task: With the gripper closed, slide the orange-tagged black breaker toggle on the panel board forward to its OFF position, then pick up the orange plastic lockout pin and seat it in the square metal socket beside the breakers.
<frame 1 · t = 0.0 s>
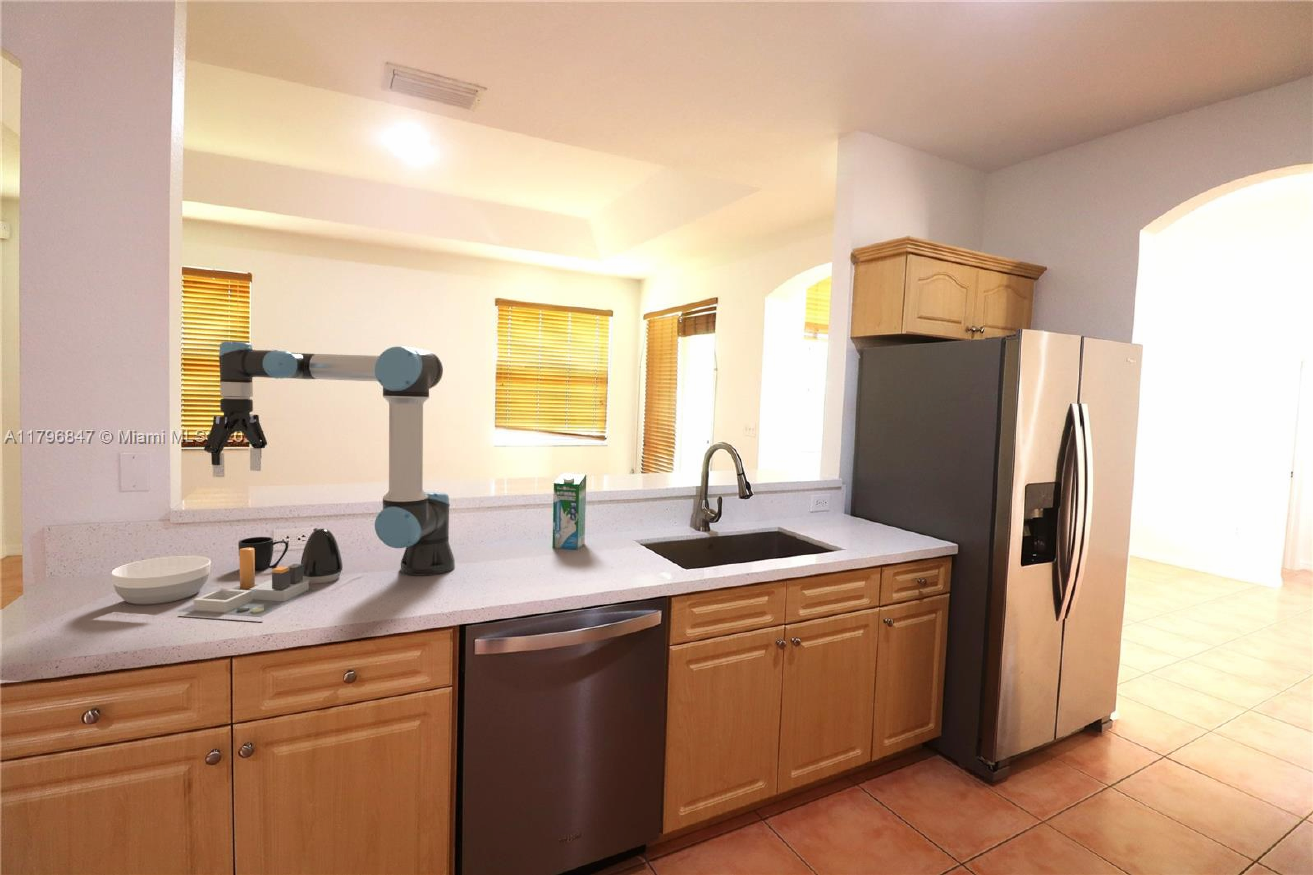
hand: (237, 473, 173), 28 cm above the worktop, fingers open, 13 cm apart
mug: (264, 573, 175), on the worktop
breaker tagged: (280, 577, 150), point 7 cm above the worktop, slide at 0.0 cm
lockout pin: (247, 587, 158), point 1 cm above the worktop, touching panel board
milk carton: (568, 546, 217), on the worktop
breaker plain: (294, 573, 155), point 6 cm above the worktop, slide at 0.0 cm
bowl: (163, 601, 150), on the worktop
panel board: (251, 605, 150), on the worktop
black domed piece: (321, 584, 167), on the worktop
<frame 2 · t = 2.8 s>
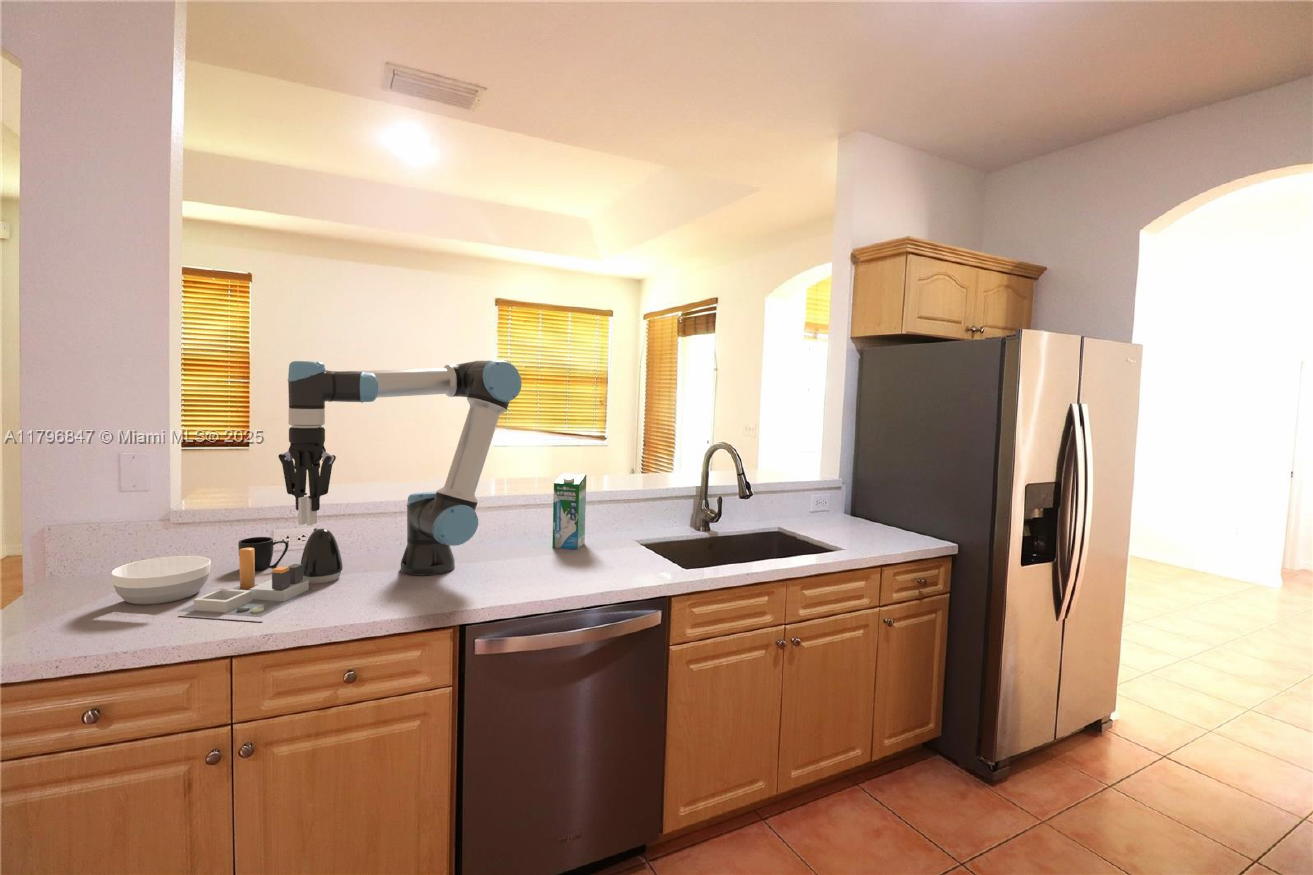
hand: (307, 523, 149), 20 cm above the worktop, fingers closed
nothing on the worktop moved.
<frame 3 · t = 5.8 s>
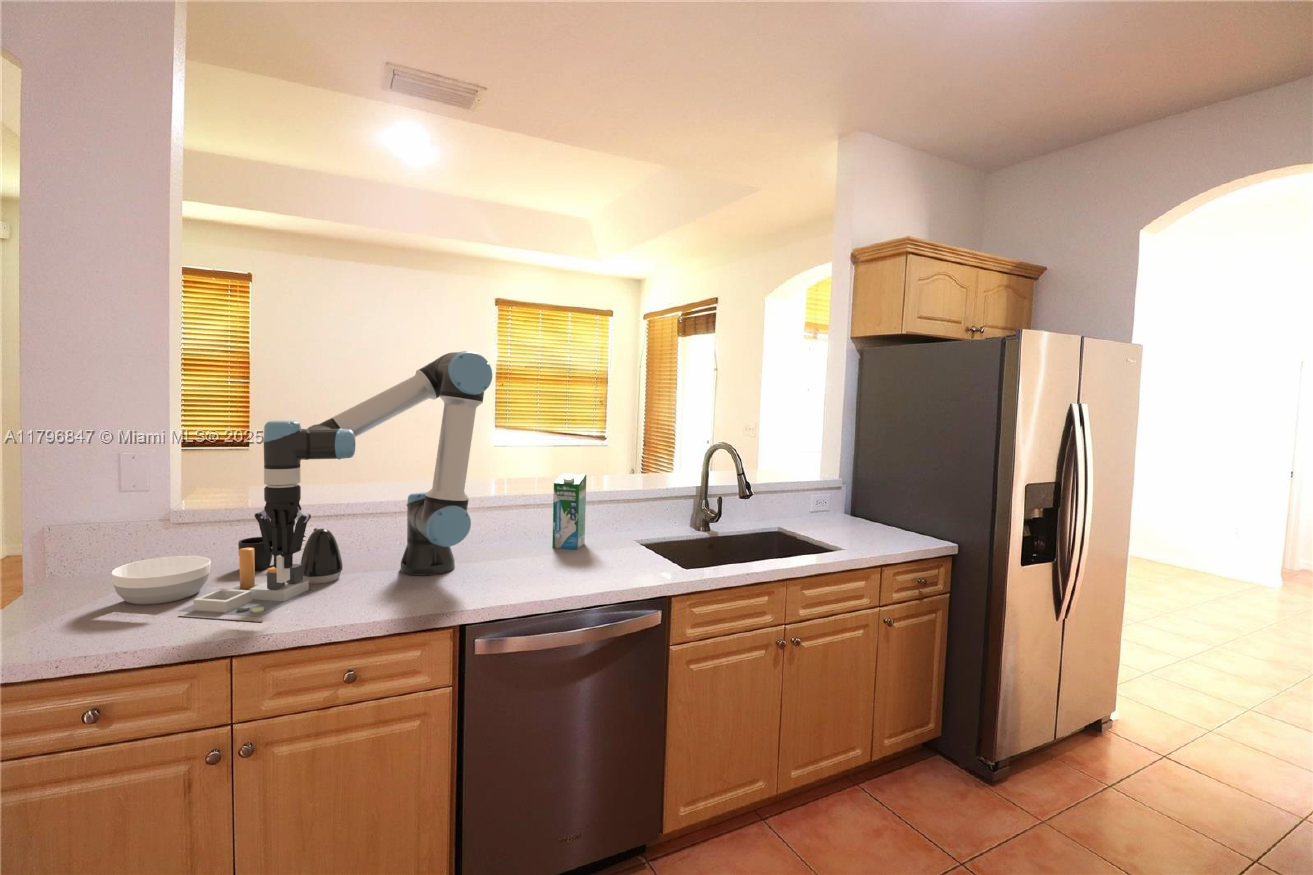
hand: (283, 580, 150), 6 cm above the worktop, fingers closed
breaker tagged: (276, 577, 150), point 7 cm above the worktop, slide at 1.3 cm, touching gripper
everything else where it was.
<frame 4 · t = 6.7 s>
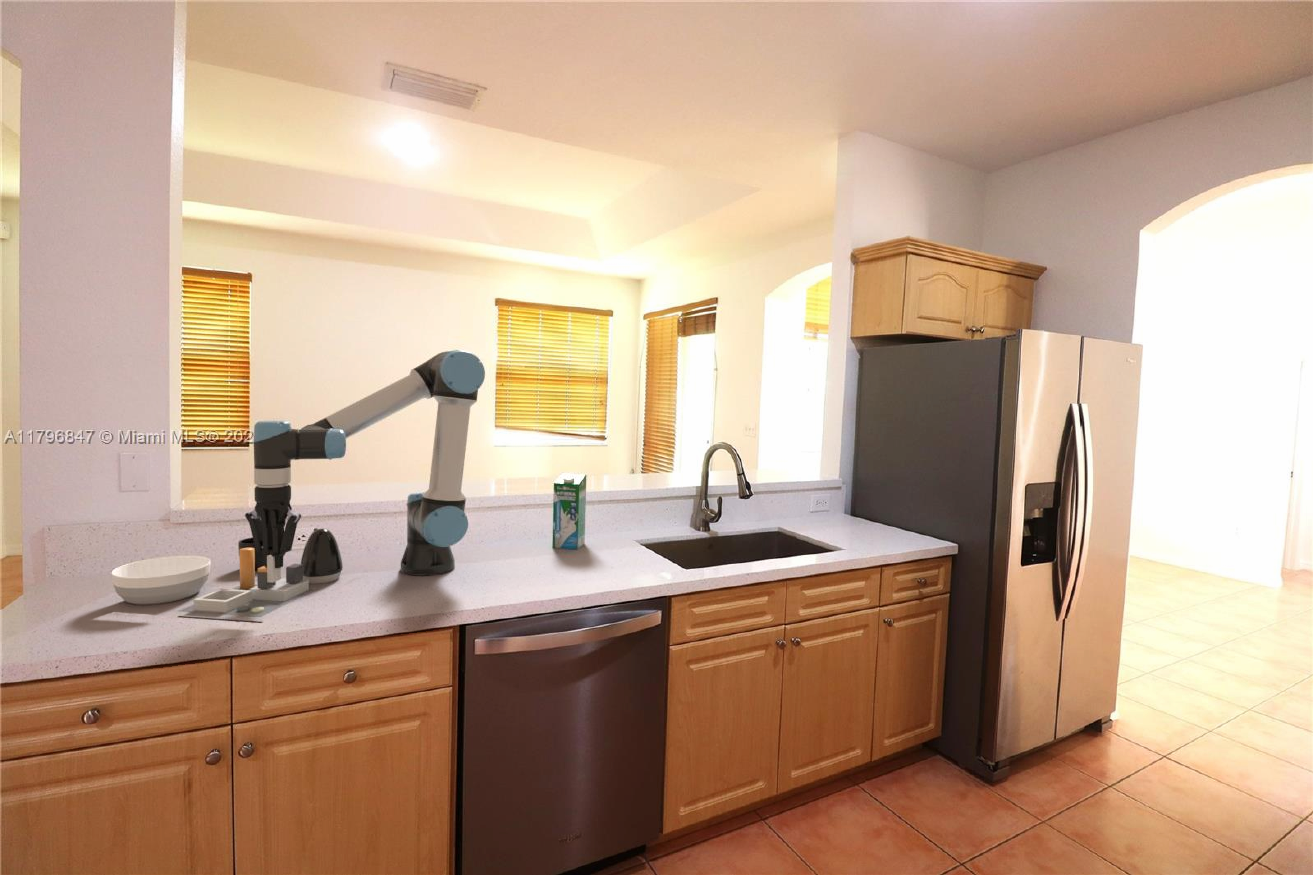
hand: (274, 580, 150), 6 cm above the worktop, fingers closed
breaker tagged: (266, 577, 150), point 7 cm above the worktop, slide at 3.7 cm, touching gripper
everything else where it was.
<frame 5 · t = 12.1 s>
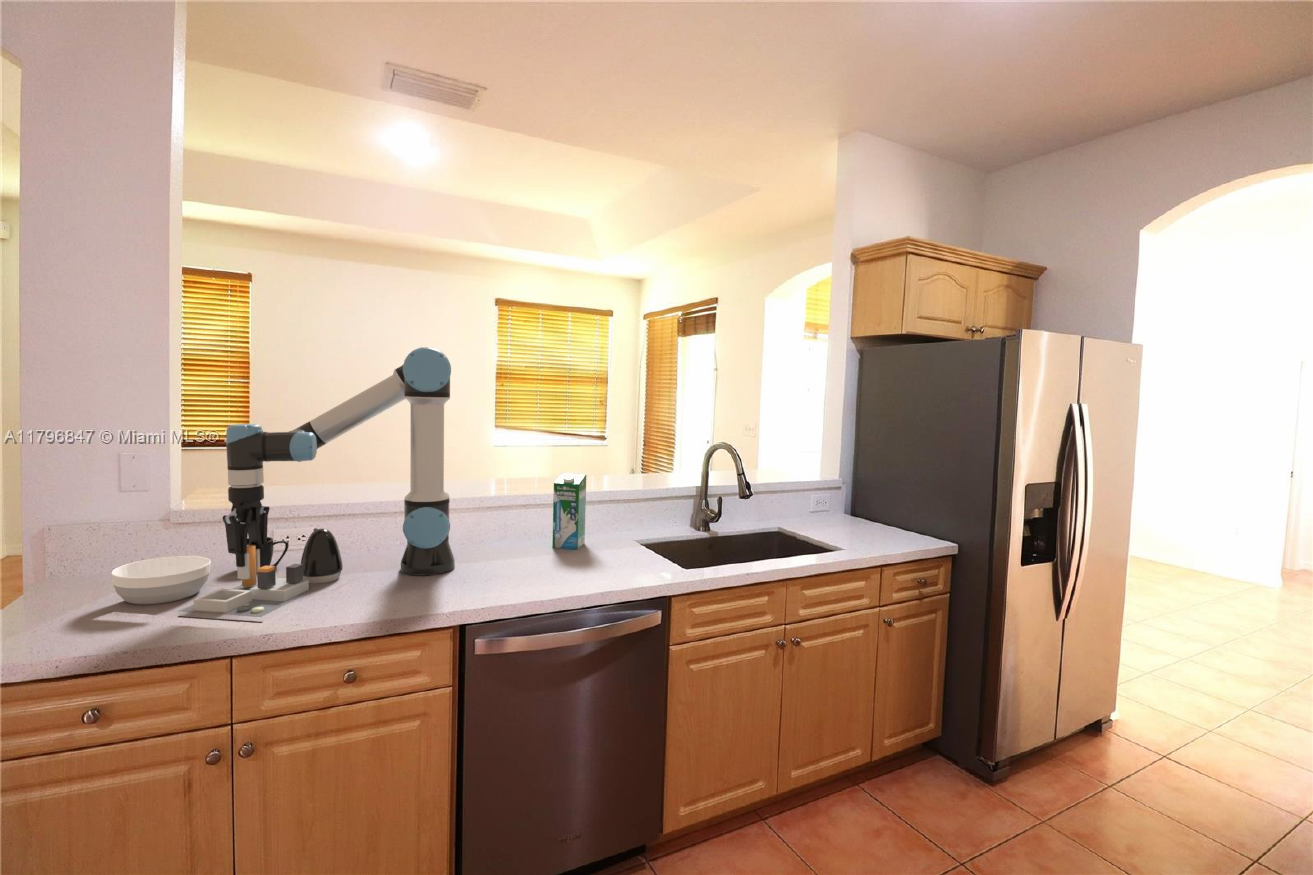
hand: (249, 576, 157), 4 cm above the worktop, fingers closed on lockout pin, 3 cm apart
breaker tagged: (266, 577, 150), point 7 cm above the worktop, slide at 3.7 cm
lockout pin: (249, 584, 158), point 2 cm above the worktop, touching gripper
everything else where it was.
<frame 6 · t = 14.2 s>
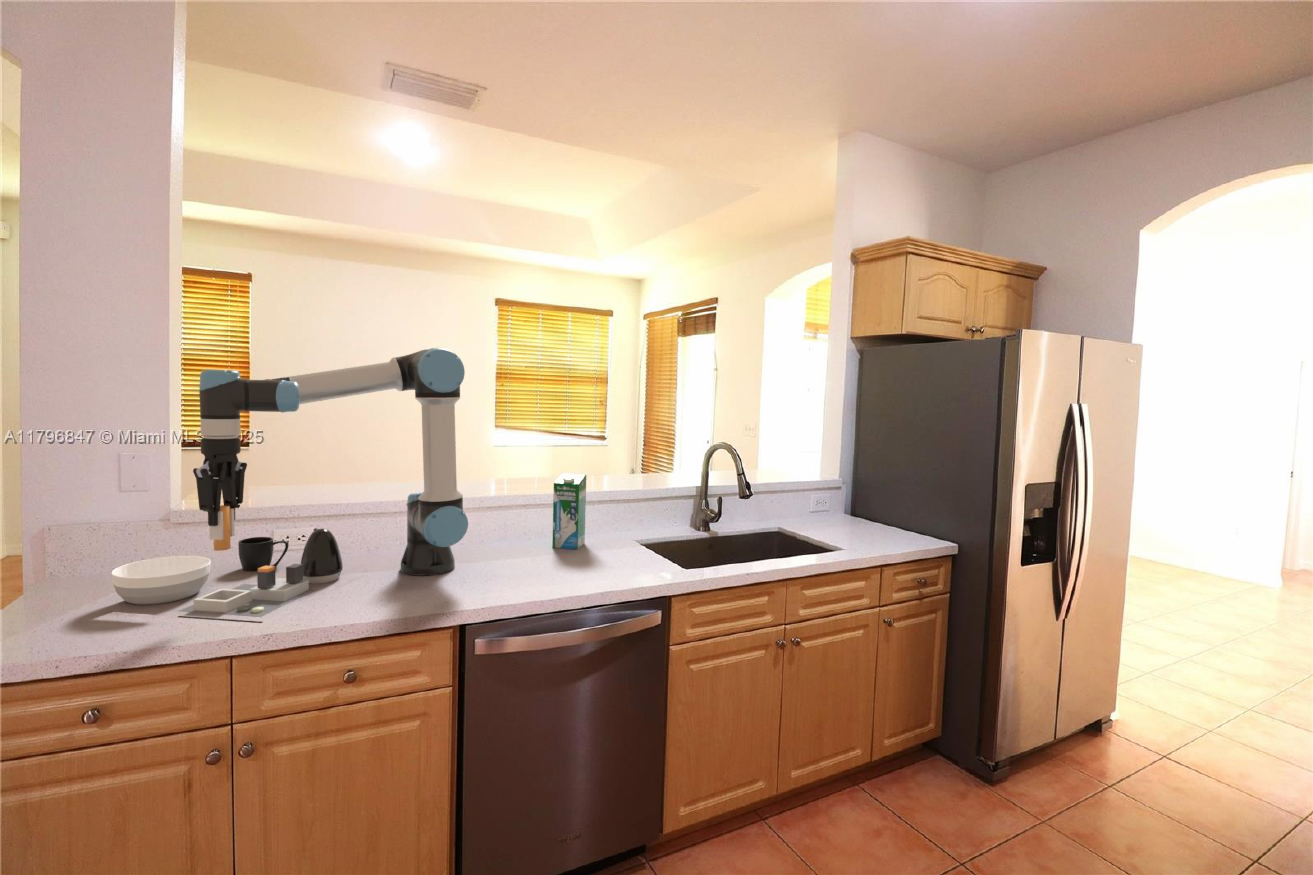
hand: (222, 537, 144), 18 cm above the worktop, fingers closed on lockout pin, 3 cm apart
lockout pin: (222, 548, 144), point 15 cm above the worktop, touching gripper
everything else where it was.
when the fingers open (5 cm above the worktop, at t = 16.6 s): lockout pin stays where it is, resting on panel board.
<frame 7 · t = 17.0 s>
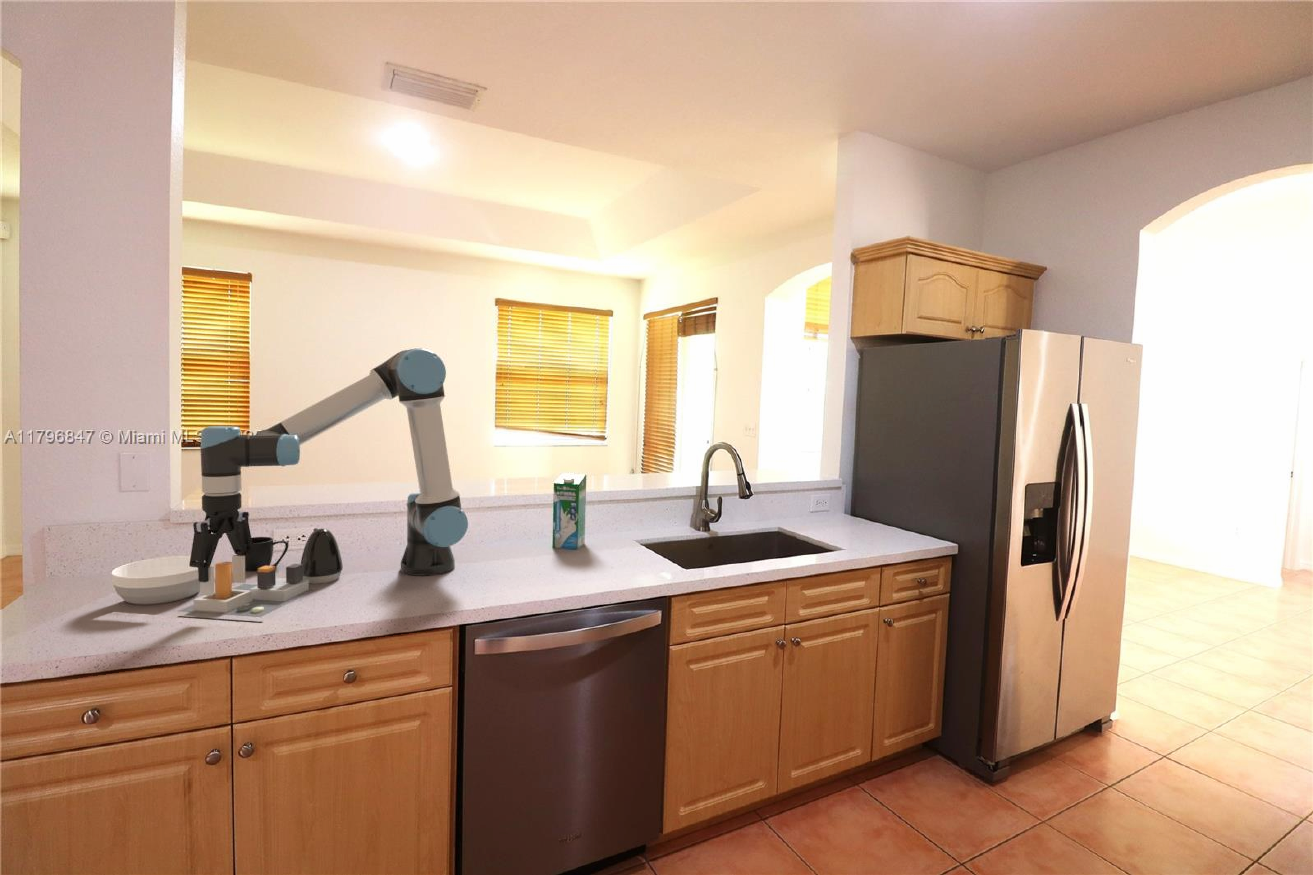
hand: (223, 588, 145), 6 cm above the worktop, fingers open, 9 cm apart
lockout pin: (223, 605, 145), point 2 cm above the worktop, touching panel board
everything else where it was.
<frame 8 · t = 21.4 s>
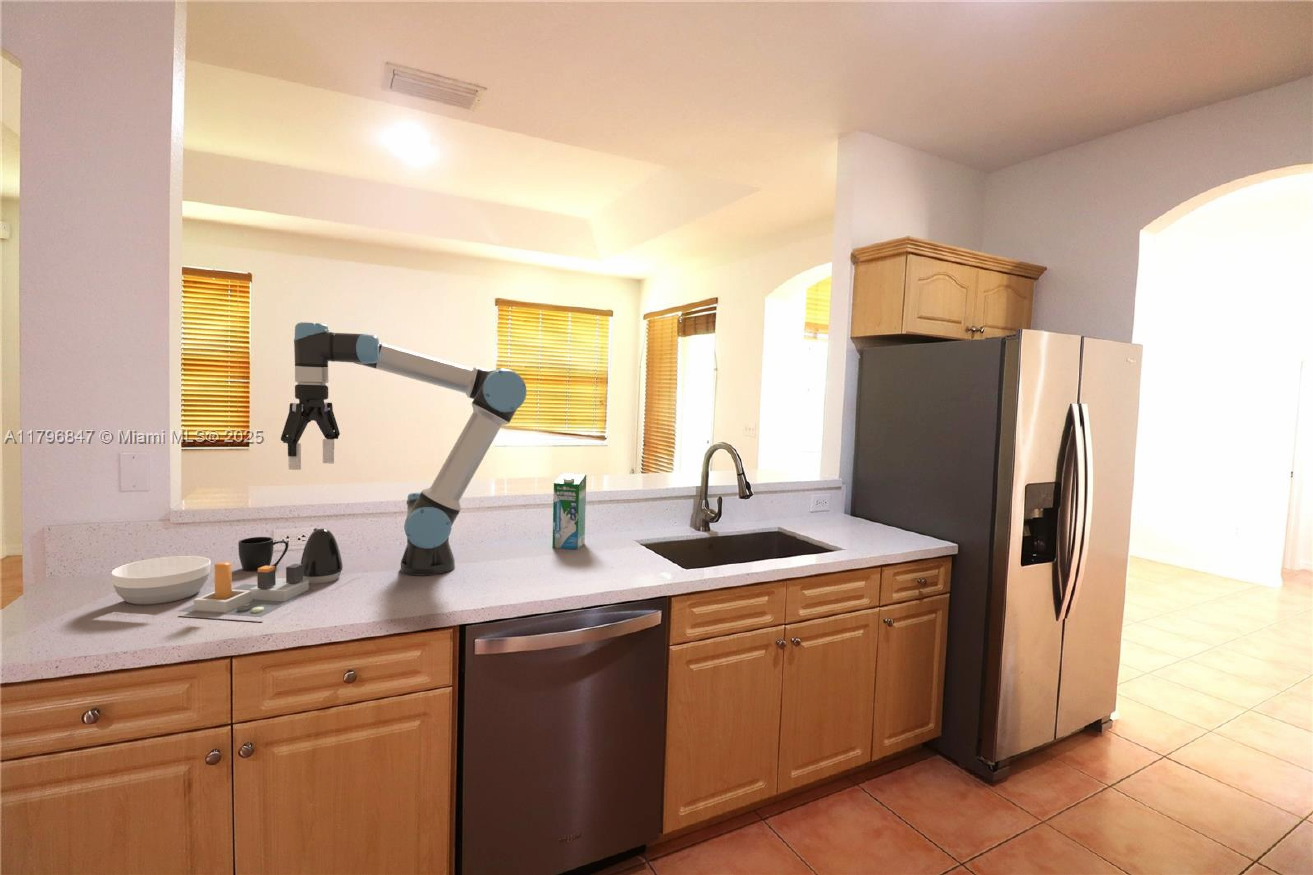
hand: (312, 466, 160), 33 cm above the worktop, fingers open, 13 cm apart
nothing on the worktop moved.
at the end: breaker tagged slide at 3.7 cm; lockout pin 0.1 cm from the target spot on the panel board, point 1.5 cm above the panel board's base; lockout pin tilted 0° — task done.
